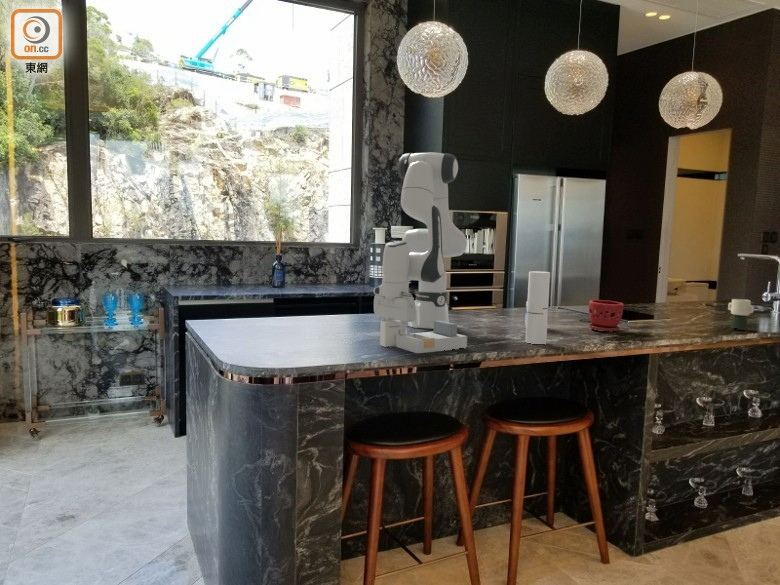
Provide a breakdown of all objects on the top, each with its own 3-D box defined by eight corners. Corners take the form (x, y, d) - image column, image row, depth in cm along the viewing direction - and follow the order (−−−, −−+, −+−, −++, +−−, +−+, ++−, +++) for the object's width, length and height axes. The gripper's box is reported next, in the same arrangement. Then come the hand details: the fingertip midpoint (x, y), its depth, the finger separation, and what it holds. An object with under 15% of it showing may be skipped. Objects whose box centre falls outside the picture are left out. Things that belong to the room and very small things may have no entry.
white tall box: (550, 344, 209) (554, 272, 206) (535, 345, 205) (539, 272, 203) (536, 340, 215) (539, 271, 213) (520, 342, 212) (524, 271, 209)
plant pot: (588, 332, 238) (590, 302, 237) (586, 327, 251) (588, 299, 250) (623, 334, 235) (625, 304, 234) (619, 329, 248) (621, 300, 247)
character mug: (756, 331, 253) (759, 301, 251) (745, 332, 250) (748, 301, 248) (731, 327, 262) (734, 298, 261) (721, 328, 259) (723, 298, 258)
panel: (384, 346, 195) (385, 322, 195) (379, 345, 198) (380, 321, 197) (406, 344, 200) (407, 321, 199) (401, 343, 203) (402, 319, 202)
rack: (395, 346, 196) (396, 322, 195) (443, 342, 207) (444, 319, 206) (417, 353, 186) (418, 328, 185) (466, 348, 197) (468, 324, 196)
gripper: (421, 293, 190) (419, 336, 191) (386, 287, 207) (385, 327, 208) (405, 293, 187) (403, 337, 188) (370, 288, 204) (369, 328, 205)
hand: (393, 332), depth 198 cm, fingers open, 8 cm apart
